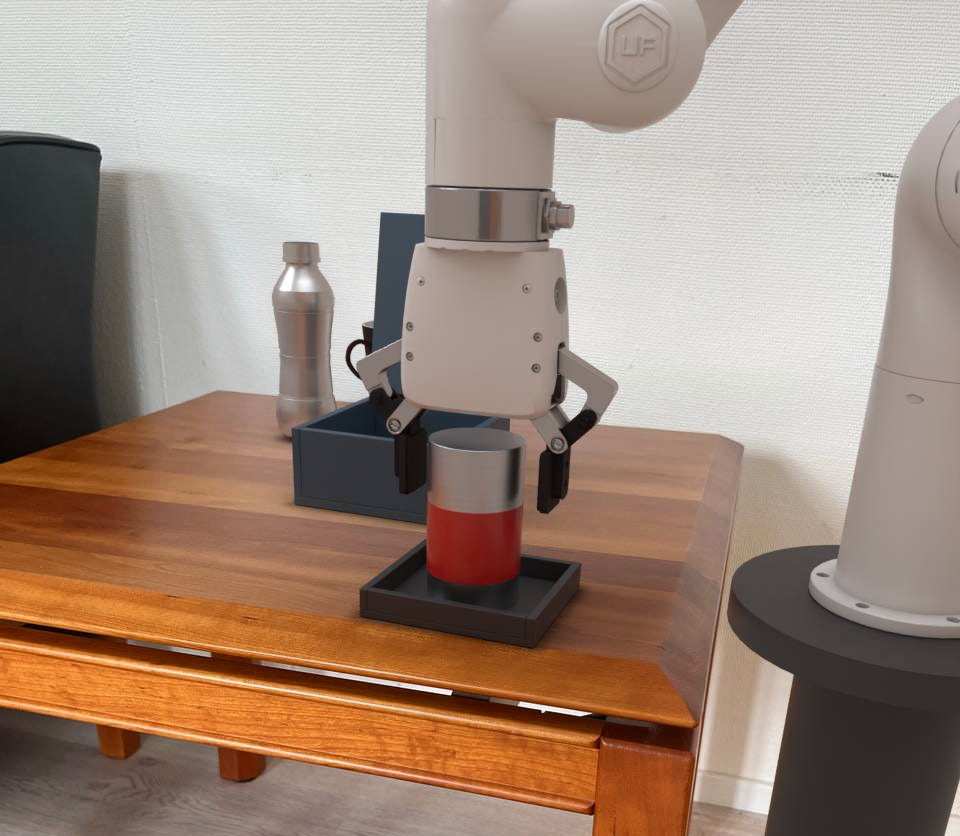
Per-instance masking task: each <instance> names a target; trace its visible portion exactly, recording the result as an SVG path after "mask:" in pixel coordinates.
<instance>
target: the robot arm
mask: <svg viewBox="0 0 960 836" xmlns="http://www.w3.org/2000/svg"><path fill="white" fill-rule="evenodd" d="M744 1H745V0H427V4H426V16H425V116H424V117H425V118H424V119H425V155H424V158H425V159H424V161H425V162H424V185H425V187H424V214H425V235H426V236H425V242H424V243H419V244H416V245H415V249H414V254H413V258H412V263H411V268H410V274H409V279H408V286H407V292H406V300H405V309H404V318H403V331H402V339H400V340H398V341H396V342H394V343H392V344H390V345H388V346H386V347H384V348H382V349H380V350H378V351H376V352H374V353H372V354H370V355H368V356H366V355H365V356H364V357H362V358H360V359H358V360H357V362H356V363H355V369H356V371H357V372H358V373H359V375H360V378H361V380H362V381H361V380H360V381H361V382H362V384H363V386H364V389H365V391H367V392H368V397H369V400H370V403H371V404H372V406H373V407H374V408H375V409H376V410H377V411H378V413H379V414H380V415H381V416H382V417H383V419H384V420H385V421H386V422H387V423H386V425H387V429H388V430H389V432H390V433H392V434H394V472H395V476H396V477H398V478H399V492H400V494H406V495H408V494H410V493H412V492H414V491H415V490H417V489H418V488H420V487H421V486H423V485H424V484H426V481H427V431H426V430H425V427H423V426H420V420H421V419H422V418H423V417H424V416H425V414H426V413H427V412H428V411H429V410H437V411H445V412H454V413H463V414H472V415H481V416H490V417H500V418H509V419H510V420H511V419H512V420H529V421H530V423H531V424H532V426H533V427H534V429H535V430H536V432H537V433H538V435H539V436H540V437H541V438H542V440H543V441H544V443H545V444H546V445H545V449H544V450H542V452H541V453H540V454H539V457H538V458H539V459H538V477H537V493H536V494H537V495H536V496H537V497H536V511H538V512H539V514H544V515H549V514H550V513H551V512H552V511H553V510H554V509H555V508H556V507H557V506H558V505H559V504H560V501H561V500H565V499H566V497H567V495H568V492H569V485H570V483H569V482H570V481H569V480H570V471H571V470H570V468H571V456H572V455H571V453H572V446H573V445H574V444H576V442H578V441H579V440H580V439H581V438H582V437H584V436H585V435H586V434H587V433H588V432H590V431H591V430H592V429H593V428H594V427H596V426H597V425H598V424H599V423H600V422H601V419H602V417H603V415H604V414H605V412H606V411H607V409H608V408H609V407H610V405H611V403H612V401H613V399H614V398H615V397H616V395H617V393H618V391H619V384H618V382H617V381H616V380H615V379H614V378H612V377H611V376H609V375H608V374H606V373H605V372H603V371H602V370H600V369H599V368H597V367H595V366H594V365H593V364H591V363H589V362H588V361H586V360H585V359H583V358H582V357H580V356H579V355H577V354H576V353H574V352H573V351H571V350H570V321H569V320H570V318H569V316H570V315H569V314H570V313H569V298H568V297H569V294H568V281H567V272H566V262H565V255H564V250H563V248H559V247H550V239H553V238H554V234H555V233H556V232H558V231H559V232H560V230H561V229H566V230H567V229H569V230H571V229H573V227H574V223H575V216H576V209H575V206H574V204H572V203H569V204H568V203H563V202H562V201H559V200H558V199H557V197H556V191H554V190H552V189H553V184H554V183H553V182H554V165H555V145H556V129H557V127H556V126H557V121H558V119H563V120H570V121H577V122H583V123H585V124H586V125H588V126H589V127H590V128H593V129H595V130H596V131H600V132H602V133H608V134H617V135H618V134H628V133H632V132H635V131H640V130H643V129H646V128H649V127H652V126H653V125H656V124H659V123H660V122H662V121H663V120H665V119H667V118H668V117H669V116H671V115H672V114H673V113H675V112H676V111H677V110H678V109H679V108H680V107H681V106H682V105H683V104H684V102H685V101H686V100H687V99H688V97H689V96H690V95H691V93H692V92H693V90H694V88H695V86H696V84H697V83H698V81H699V78H700V76H701V73H702V70H703V67H704V64H705V61H706V60H705V59H706V53H707V50H708V49H710V46H711V45H712V44H713V42H714V41H715V40H716V39H717V37H718V35H719V34H720V33H721V31H722V30H723V29H724V28H725V26H726V25H727V24H728V22H729V21H730V19H731V18H732V17H733V15H735V13H736V12H737V10H738V9H739V8H740V7H741V5H742V4H743V3H744ZM891 243H892V244H891V259H890V270H889V271H890V272H889V281H888V289H887V297H886V302H885V303H886V304H885V309H884V314H883V315H884V316H883V322H882V327H881V330H880V331H881V332H880V337H879V343H878V349H877V354H876V360H875V363H874V366H873V371H872V377H871V382H870V387H869V393H868V398H867V403H866V408H865V413H864V419H863V424H862V428H861V434H860V439H859V440H860V441H859V444H858V450H857V455H856V460H855V465H854V470H853V476H852V481H851V486H850V492H849V495H848V502H847V507H846V510H845V511H846V512H845V518H844V522H843V527H842V533H841V539H840V543H839V545H840V548H839V553H838V558H837V559H833V560H830V561H827V562H824V563H822V564H820V565H819V566H817V567H816V568H814V570H813V571H812V573H811V576H810V581H809V591H810V594H811V595H812V597H813V598H814V599H815V601H817V602H818V603H819V604H820V605H821V606H823V607H824V608H825V609H827V610H829V611H830V612H832V613H834V614H836V615H838V616H840V617H842V618H845V619H847V620H849V621H852V622H855V623H857V624H860V625H863V626H866V627H870V628H873V629H877V630H881V631H885V632H890V633H895V634H900V635H905V636H913V637H921V638H934V639H960V94H959V95H957V96H956V97H954V98H952V99H951V100H949V102H947V103H946V104H945V105H943V106H942V107H941V108H940V109H938V111H937V112H936V113H935V114H934V115H933V116H932V117H931V118H930V119H929V120H928V121H927V123H925V124H924V126H923V127H922V129H921V130H920V131H919V133H918V134H917V136H916V138H915V139H914V141H913V142H912V144H911V146H910V148H909V151H908V152H907V154H906V156H905V159H904V162H903V165H902V168H901V171H900V175H899V179H898V183H897V189H896V195H895V202H894V213H893V225H892V242H891ZM399 362H401V384H402V391H403V394H404V397H405V399H404V400H403V399H402V398H401V397H400V396H399V395H398V393H397V392H396V391H395V390H394V389H393V388H392V387H391V386H390V385H389V383H388V381H389V380H388V378H387V375H386V372H387V369H388V368H389V367H391V366H393V365H395V364H397V363H399ZM569 381H570V382H571V383H573V384H574V385H576V386H577V387H579V388H580V389H582V390H583V391H584V392H585V394H586V395H587V397H586V398H587V399H586V400H585V403H584V405H583V406H582V408H581V410H580V412H578V414H576V415H575V416H574V417H573V418H572V419H570V417H569V416H568V414H567V413H566V412H565V411H564V409H563V407H562V406H561V404H563V403H564V401H565V400H566V398H567V396H568V389H569Z"/></svg>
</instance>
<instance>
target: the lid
mask: <svg viewBox="0 0 960 836" xmlns="http://www.w3.org/2000/svg"><path fill="white" fill-rule="evenodd" d="M425 236H426V235H425V213H409V212H407V213H406V212H388V211H381V212H380V216H379V230H378V247H377V263H376V277H375V278H376V279H375V294H374V295H375V296H374V309H373V311H374V312H373V320H374V324H373V340H372V353H374V352H376V351H378V350H380V349H382V348H384V347H386V346H388V345H390V344H392V343H394V342H396V341H398V340H400V339H402V331H403V318H404V309H405V300H406V292H407V286H408V279H409V274H410V268H411V263H412V258H413V254H414V249H415V245H416V244H419V243H424V242H425ZM386 375H387V378H388V380H389V381H388V383H389V385H390V386H391V387H392V388H393V389H394V390H395V391H396V392H397V393H398V394H402V395H404V394H403V391H402V384H401V362H399V363H397V364H395V365H393V366H391V367H389V368H388V369H387V372H386Z"/></svg>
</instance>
